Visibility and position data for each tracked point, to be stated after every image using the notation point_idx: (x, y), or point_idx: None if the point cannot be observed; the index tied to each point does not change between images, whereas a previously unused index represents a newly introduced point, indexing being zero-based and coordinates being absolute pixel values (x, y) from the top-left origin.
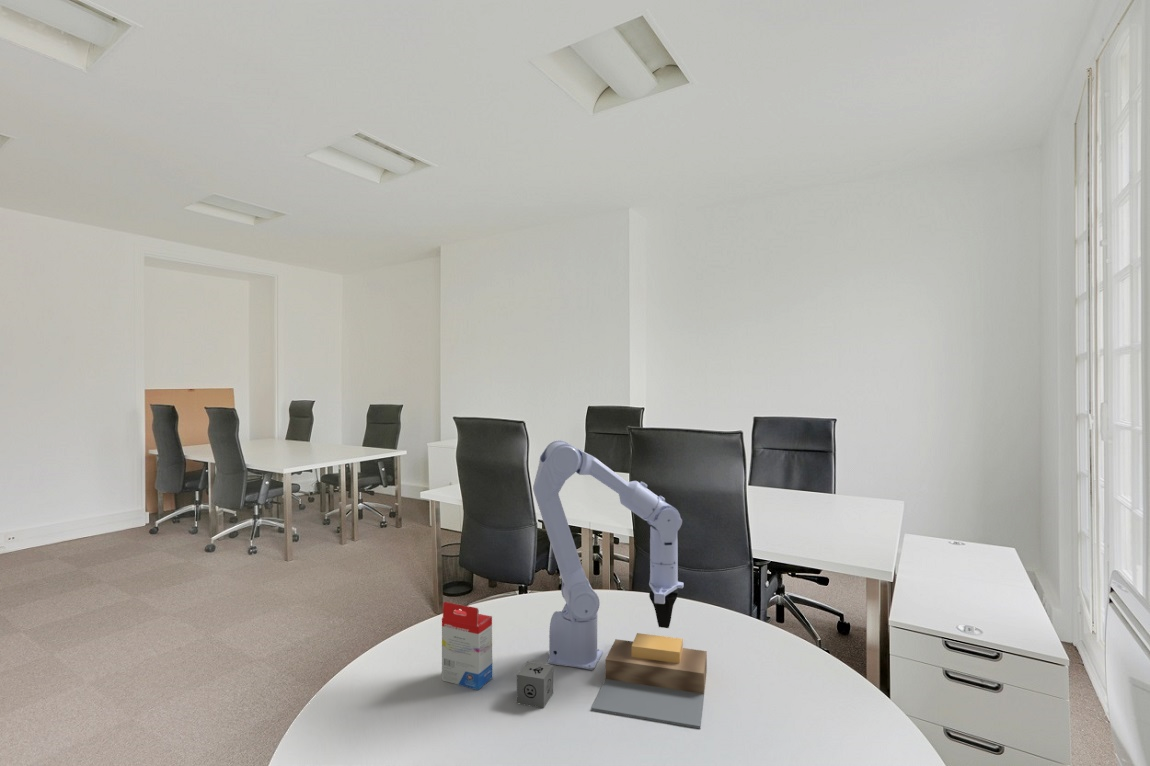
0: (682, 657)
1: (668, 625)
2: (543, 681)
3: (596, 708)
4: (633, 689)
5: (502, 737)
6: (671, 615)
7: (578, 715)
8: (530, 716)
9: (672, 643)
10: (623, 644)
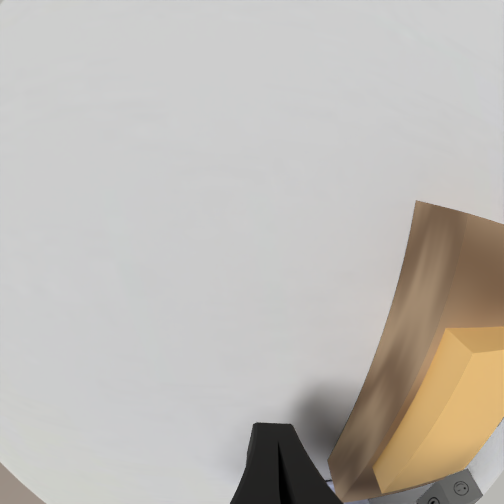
0: (498, 321)
1: (295, 435)
2: (481, 493)
3: (501, 420)
4: None
5: (496, 464)
6: (255, 462)
7: (498, 431)
8: (477, 468)
9: (493, 382)
10: (376, 485)
